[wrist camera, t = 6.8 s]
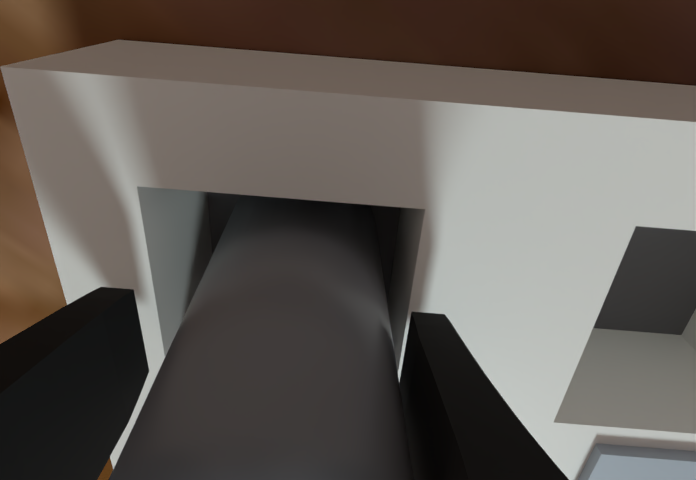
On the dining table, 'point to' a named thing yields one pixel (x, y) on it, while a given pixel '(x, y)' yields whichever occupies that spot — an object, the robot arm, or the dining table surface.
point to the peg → (279, 358)
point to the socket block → (403, 214)
